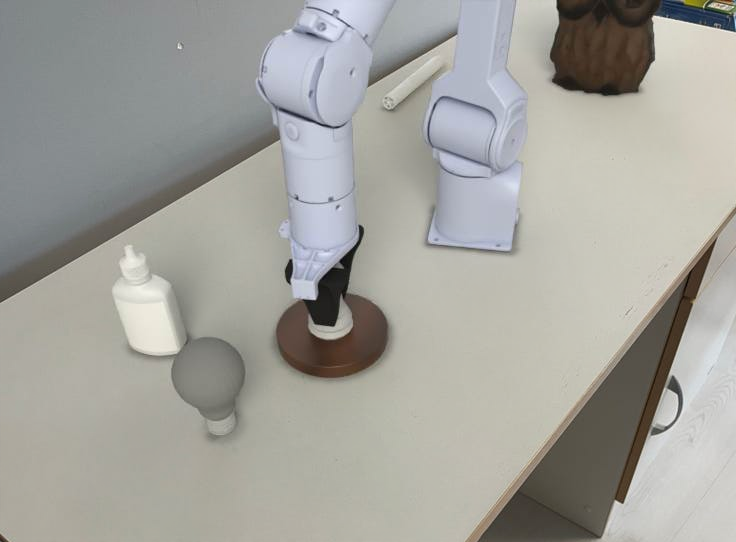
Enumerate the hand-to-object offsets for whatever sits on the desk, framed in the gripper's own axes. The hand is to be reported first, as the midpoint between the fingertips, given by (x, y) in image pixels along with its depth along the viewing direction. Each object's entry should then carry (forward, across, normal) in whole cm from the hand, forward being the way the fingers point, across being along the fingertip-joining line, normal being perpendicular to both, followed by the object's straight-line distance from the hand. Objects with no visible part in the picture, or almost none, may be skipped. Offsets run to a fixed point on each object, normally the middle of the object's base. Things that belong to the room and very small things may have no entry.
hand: (330, 309), depth 69 cm
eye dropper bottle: (+4, +4, -17) cm, 18 cm away
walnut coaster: (+4, 0, 0) cm, 4 cm away
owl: (+4, -64, +27) cm, 70 cm away
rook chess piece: (+3, 0, 0) cm, 3 cm away
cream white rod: (+4, -58, 0) cm, 58 cm away
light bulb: (+4, +13, -7) cm, 15 cm away
